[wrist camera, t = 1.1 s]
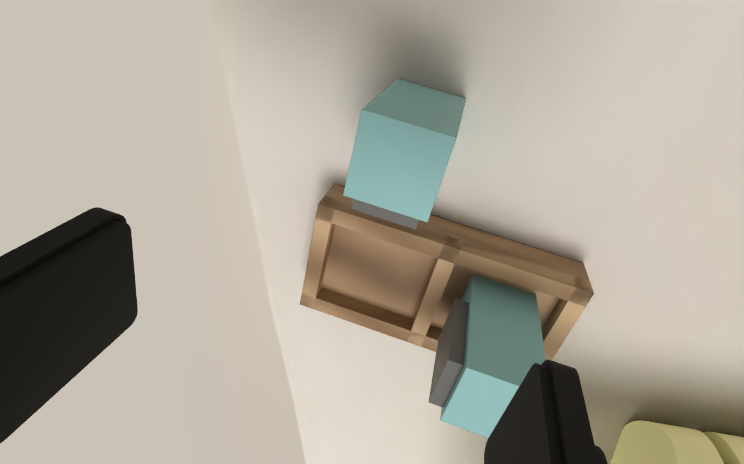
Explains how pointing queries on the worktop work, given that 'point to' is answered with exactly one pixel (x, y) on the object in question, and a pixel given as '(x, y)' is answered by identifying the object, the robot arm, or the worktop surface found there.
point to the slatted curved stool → (675, 445)
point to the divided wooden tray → (428, 273)
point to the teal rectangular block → (403, 152)
